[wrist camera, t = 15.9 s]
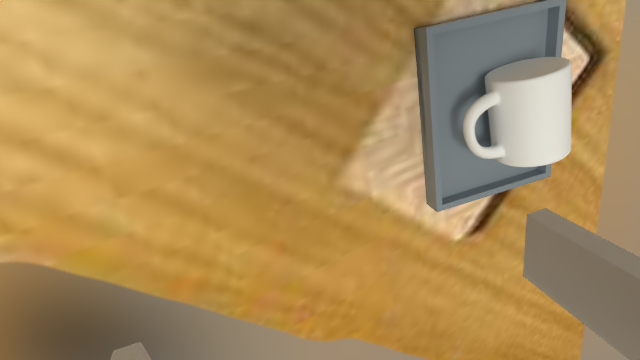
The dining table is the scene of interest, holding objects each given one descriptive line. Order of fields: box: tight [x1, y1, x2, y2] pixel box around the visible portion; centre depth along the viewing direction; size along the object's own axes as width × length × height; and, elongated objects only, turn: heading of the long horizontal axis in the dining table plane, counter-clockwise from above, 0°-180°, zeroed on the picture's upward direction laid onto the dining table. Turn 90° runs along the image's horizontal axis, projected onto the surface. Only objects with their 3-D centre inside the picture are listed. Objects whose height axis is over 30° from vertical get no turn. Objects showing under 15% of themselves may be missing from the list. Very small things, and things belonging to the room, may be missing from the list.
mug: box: [463, 57, 572, 167], centre depth 39 cm, size 12×10×8 cm
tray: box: [414, 0, 566, 212], centre depth 42 cm, size 22×17×2 cm
